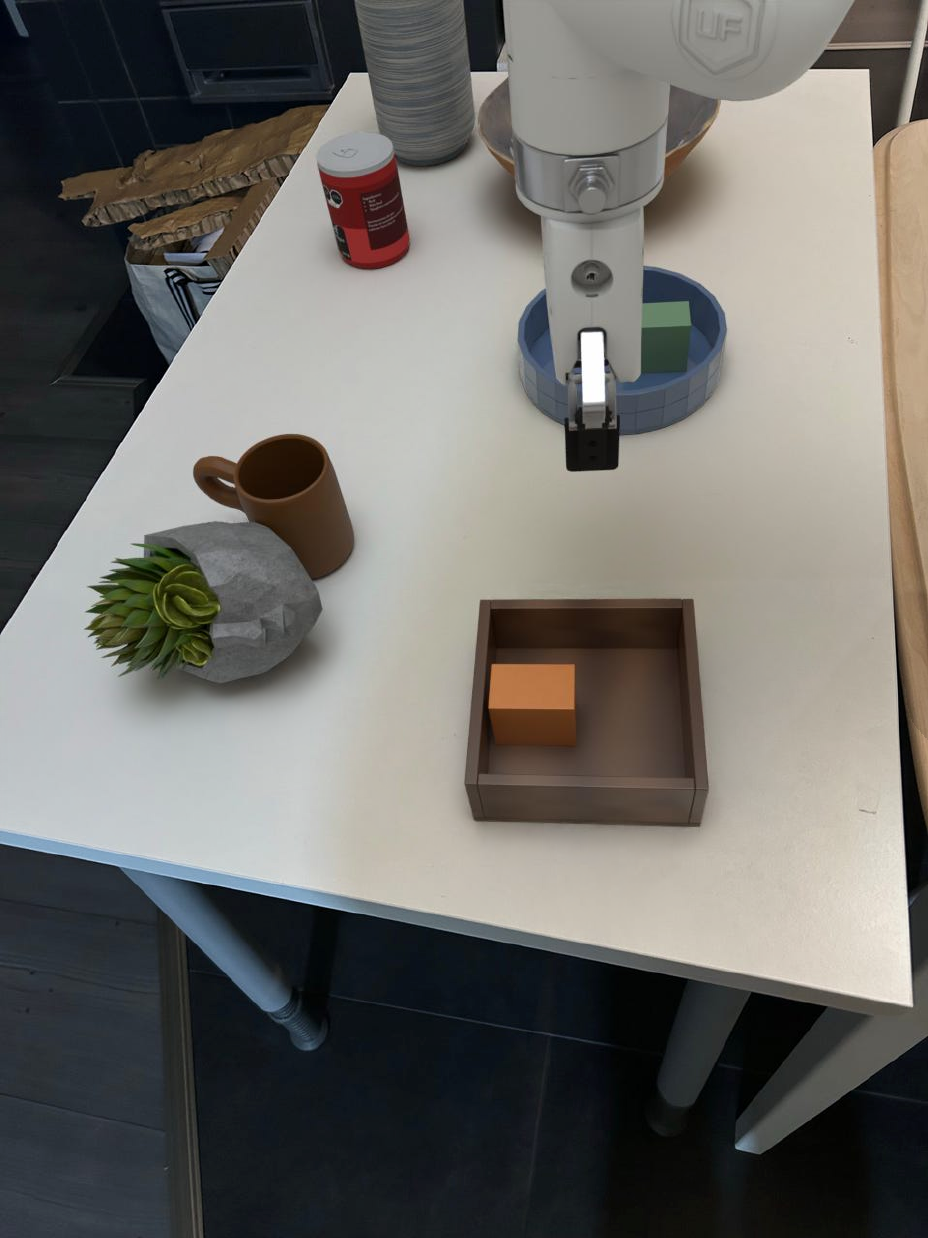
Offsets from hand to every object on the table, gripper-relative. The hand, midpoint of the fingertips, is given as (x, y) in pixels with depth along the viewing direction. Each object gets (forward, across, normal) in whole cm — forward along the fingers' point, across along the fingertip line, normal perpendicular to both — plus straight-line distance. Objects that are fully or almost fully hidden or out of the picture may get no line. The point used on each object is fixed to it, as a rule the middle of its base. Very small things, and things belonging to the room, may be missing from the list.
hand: (589, 413), depth 60 cm
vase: (+16, +66, +17) cm, 70 cm away
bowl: (+16, +52, -2) cm, 55 cm away
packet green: (+15, +23, -7) cm, 28 cm away
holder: (+15, -15, +1) cm, 21 cm away
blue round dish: (+15, +23, -3) cm, 28 cm away
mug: (+16, +3, +25) cm, 30 cm away
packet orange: (+15, -15, +4) cm, 21 cm away
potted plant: (+15, -8, +27) cm, 32 cm away
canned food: (+16, +45, +22) cm, 52 cm away
